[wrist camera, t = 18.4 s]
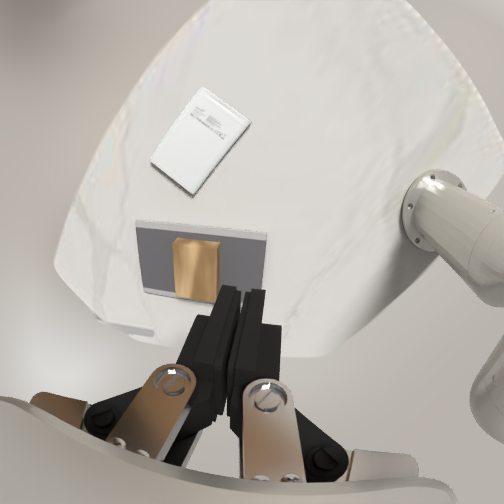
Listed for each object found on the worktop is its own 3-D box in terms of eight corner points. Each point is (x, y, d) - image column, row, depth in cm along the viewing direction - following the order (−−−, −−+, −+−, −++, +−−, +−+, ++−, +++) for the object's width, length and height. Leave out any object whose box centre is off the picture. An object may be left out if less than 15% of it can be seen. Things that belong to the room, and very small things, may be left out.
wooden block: (177, 237, 39) (220, 242, 39) (180, 288, 43) (219, 294, 43) (172, 243, 37) (216, 248, 37) (175, 296, 41) (216, 302, 41)
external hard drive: (153, 158, 36) (204, 87, 31) (196, 192, 37) (252, 122, 32) (148, 160, 34) (200, 85, 29) (192, 195, 36) (251, 121, 31)
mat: (267, 232, 38) (266, 233, 37) (259, 307, 44) (258, 309, 43) (137, 219, 39) (135, 220, 39) (145, 290, 45) (144, 291, 44)
